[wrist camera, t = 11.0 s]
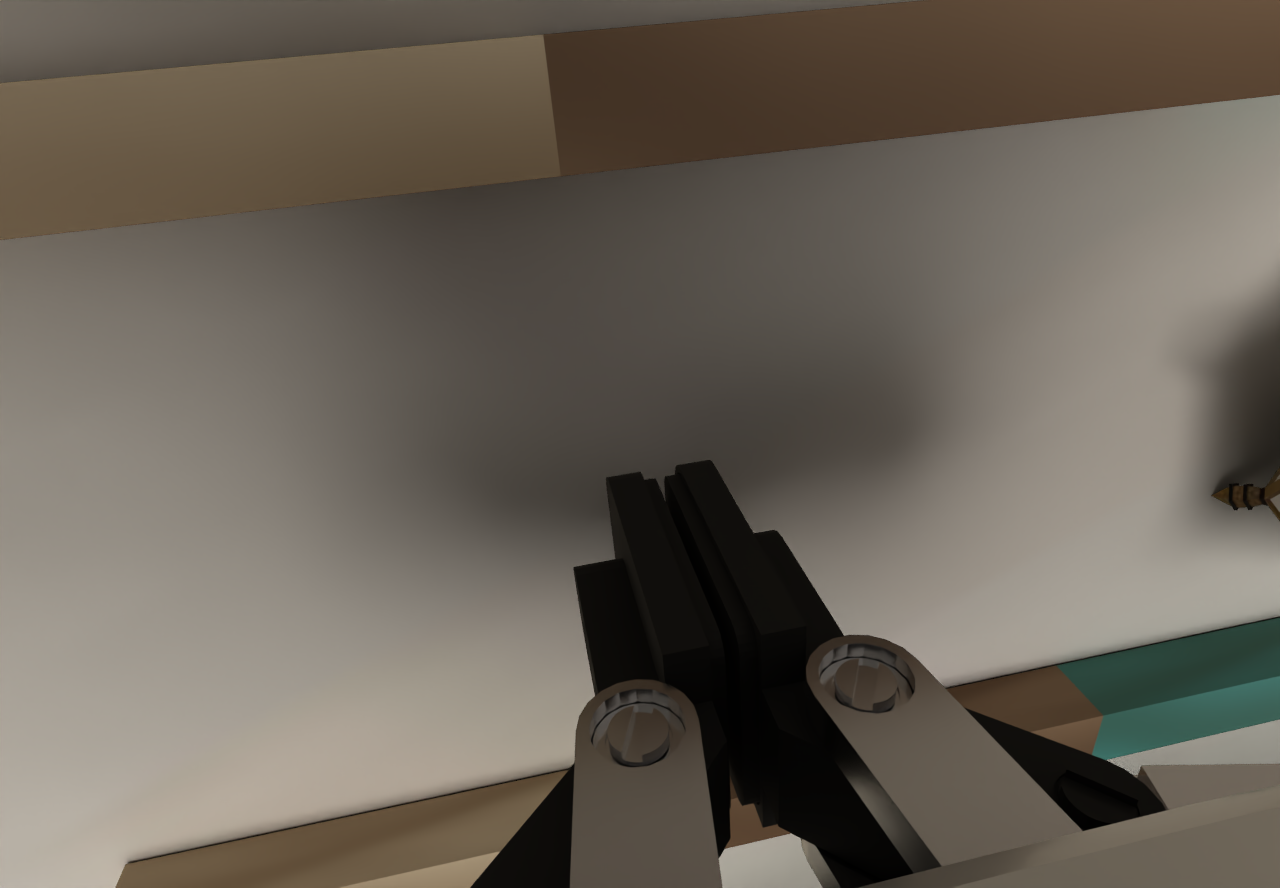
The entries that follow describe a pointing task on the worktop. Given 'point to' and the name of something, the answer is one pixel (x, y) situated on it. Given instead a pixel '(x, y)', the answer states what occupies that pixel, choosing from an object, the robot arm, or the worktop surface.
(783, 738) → the robot arm
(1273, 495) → the game die
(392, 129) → the pair of wooden rods
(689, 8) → the worktop surface
